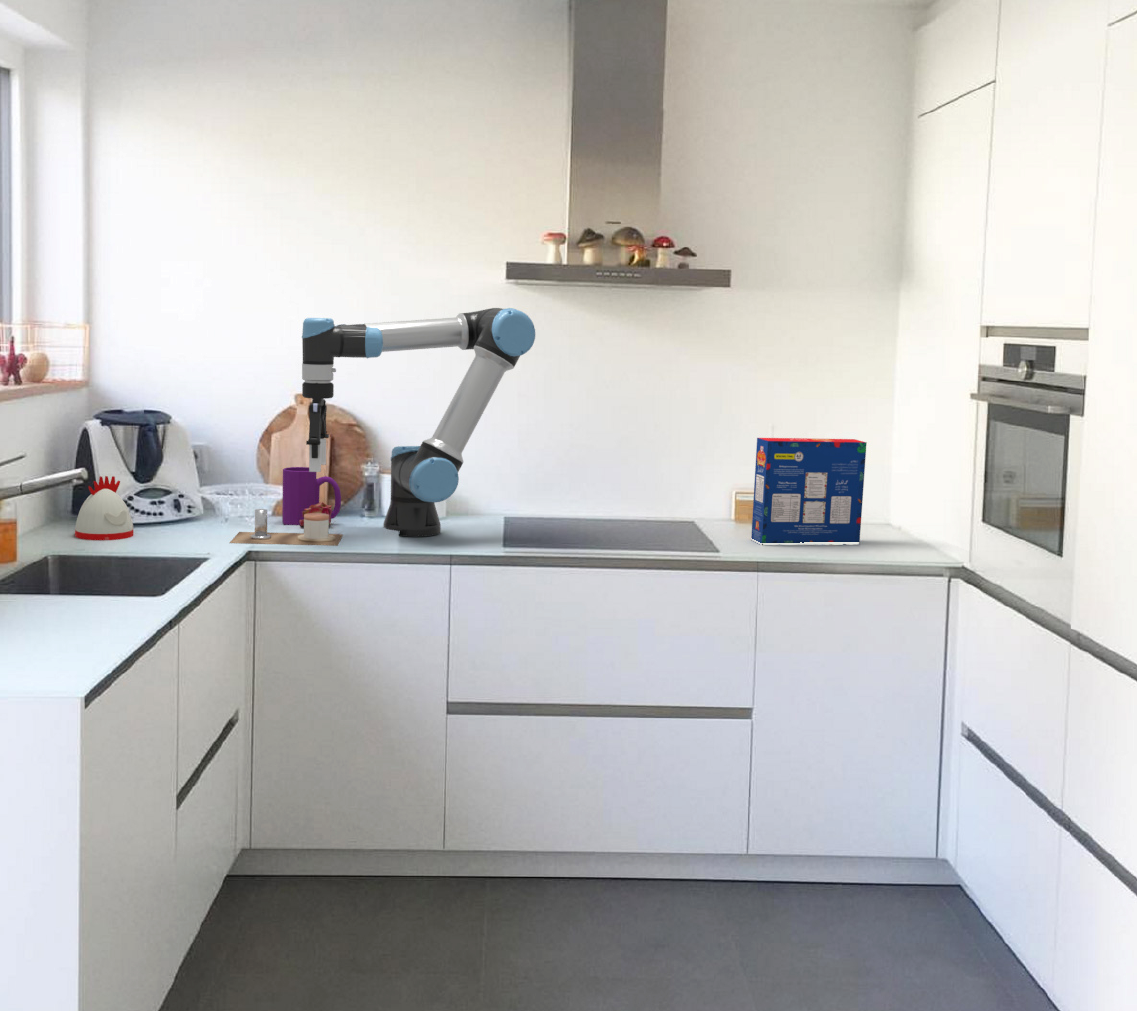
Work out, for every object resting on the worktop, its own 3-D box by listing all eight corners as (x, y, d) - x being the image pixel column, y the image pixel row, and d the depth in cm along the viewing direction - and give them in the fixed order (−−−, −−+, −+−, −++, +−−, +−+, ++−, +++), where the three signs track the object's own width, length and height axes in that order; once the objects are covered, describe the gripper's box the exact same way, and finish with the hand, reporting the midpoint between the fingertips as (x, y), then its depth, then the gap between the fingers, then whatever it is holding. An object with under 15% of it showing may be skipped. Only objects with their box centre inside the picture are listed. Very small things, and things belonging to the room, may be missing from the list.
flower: (346, 526, 366) (335, 499, 369) (326, 523, 358) (315, 496, 360) (318, 543, 370) (307, 517, 372) (298, 541, 361) (287, 514, 363)
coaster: (336, 536, 352) (336, 534, 352) (332, 542, 343) (332, 540, 343) (299, 535, 351) (299, 533, 351) (295, 541, 342) (295, 539, 342)
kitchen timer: (143, 536, 350) (143, 477, 348) (92, 542, 340) (91, 481, 338) (115, 529, 359) (114, 471, 357) (64, 534, 349) (63, 474, 347)
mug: (283, 521, 381) (284, 466, 379) (341, 522, 383) (342, 467, 381) (280, 526, 372) (281, 470, 370) (340, 527, 374) (340, 472, 372)
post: (272, 536, 349) (272, 508, 348) (269, 539, 344) (270, 511, 343) (252, 535, 348) (252, 508, 347) (249, 539, 343) (249, 511, 342)
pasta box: (847, 540, 385) (853, 439, 381) (859, 545, 378) (866, 442, 374) (751, 540, 379) (757, 437, 375) (761, 545, 371) (767, 440, 367)
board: (343, 540, 356) (343, 534, 355) (337, 551, 340) (337, 545, 340) (239, 537, 353) (239, 531, 353) (229, 549, 338) (229, 543, 337)
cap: (327, 539, 344) (327, 517, 343) (302, 538, 344) (302, 516, 343) (329, 535, 350) (329, 513, 349) (305, 534, 350) (305, 512, 349)
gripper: (329, 385, 329) (328, 474, 333) (337, 378, 354) (337, 462, 357) (296, 384, 329) (296, 474, 332) (307, 377, 353) (307, 461, 356)
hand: (317, 468), depth 345 cm, fingers open, 13 cm apart
